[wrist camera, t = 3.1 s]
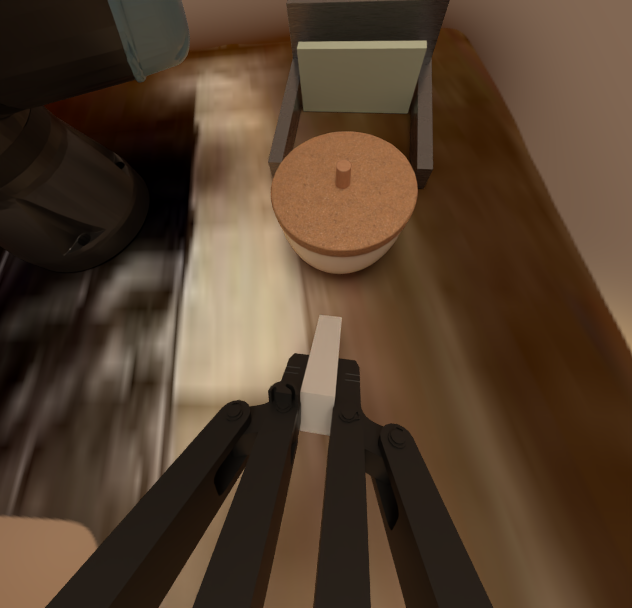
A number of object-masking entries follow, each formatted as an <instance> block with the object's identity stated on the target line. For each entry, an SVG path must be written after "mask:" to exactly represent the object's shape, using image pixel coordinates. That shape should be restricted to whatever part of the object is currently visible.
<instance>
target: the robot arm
mask: <svg viewBox="0 0 632 608" xmlns="http://www.w3.org/2000/svg"><path fill="white" fill-rule="evenodd" d="M189 44H190V36H189V28H188V23H187V20H186V15H185V11H184V8H183V4H182V0H0V246H1V247H2V248H4V249H5V250H7V251H8V252H10V253H11V254H13V255H14V256H16V257H18V258H20V259H22V260H24V261H26V262H29V263H32V264H34V265H37V266H40V267H43V268H45V269H48V270H51V271H56V272H77V271H82V270H86V269H89V268H92V267H95V266H97V265H99V264H101V263H103V262H105V261H107V260H109V259H110V258H112V257H114V256H115V255H116V254H118V253H119V252H120V251H121V250H123V249H124V248H125V247H126V246H127V245H128V244H129V243H130V242H131V241H132V240H133V238H134V237H135V236H136V235H137V233H138V232H139V230H140V229H141V227H142V225H143V223H144V221H145V219H146V216H147V213H148V209H149V191H148V188H147V185H146V183H145V181H144V180H143V178H142V177H141V176H140V175H139V174H138V173H137V172H136V171H135V170H134V169H133V168H132V167H131V166H130V165H129V164H128V163H127V162H126V161H125V160H124V159H123V158H121V157H120V156H118V155H117V154H115V153H114V152H112V151H111V150H109V149H107V148H106V147H104V146H102V145H101V144H99V143H98V142H96V141H94V140H93V139H91V138H89V137H88V136H86V135H85V134H83V133H81V132H80V131H78V130H76V129H75V128H73V127H72V126H70V125H68V124H67V123H65V122H63V121H62V120H60V119H59V118H57V117H56V116H54V115H53V114H52V113H51V112H50V111H48V110H47V109H46V108H45V107H44V106H43V105H46V104H49V103H53V102H56V101H60V100H64V99H67V98H71V97H74V96H78V95H82V94H85V93H89V92H93V91H96V90H100V89H103V88H107V87H111V86H114V85H118V84H121V83H125V82H129V81H132V80H137V81H138V82H144V80H145V78H146V76H148V75H150V74H153V73H156V72H159V71H162V70H165V69H167V68H170V67H173V66H176V65H178V64H180V63H181V62H183V60H184V59H185V58H186V56H187V54H188V51H189ZM341 320H342V317H335V316H326V315H320V316H319V320H318V324H317V328H316V332H315V336H314V340H313V344H312V348H311V352H310V355H304V354H297V353H295V354H294V355H293V356H291V357H290V358H289V361H288V363H287V367H286V369H285V372H284V374H283V377H282V380H281V381H280V382H277V383H275V384H274V385H272V386H271V387H270V389H269V390H268V393H269V402H268V403H266V404H262V405H257V406H250V407H249V405H248V404H247V403H246V402H245V401H240V400H237V401H232V402H230V403H227V404H226V405H225V406H224V407H222V408H221V410H220V411H219V412H218V413H217V414H216V415H215V416H214V418H213V419H212V420H211V421H210V422H209V423H208V424H207V425H206V427H205V428H204V429H203V430H202V431H201V432H200V433H199V434H198V436H197V437H196V438H195V439H194V440H193V441H192V442H191V443H190V445H189V446H188V447H187V448H186V449H185V450H184V451H183V453H182V454H181V455H180V456H179V457H178V458H177V459H176V460H175V462H174V463H173V464H172V465H171V466H170V467H169V468H168V469H167V471H166V472H165V473H164V474H163V475H162V476H161V477H160V478H159V480H158V481H157V482H156V483H155V484H154V485H153V486H152V488H151V489H150V490H149V491H148V492H147V493H146V494H145V495H144V497H143V498H142V499H141V500H140V501H139V502H138V503H137V504H136V506H135V507H134V508H133V509H132V510H131V511H130V512H129V513H128V515H127V516H126V517H125V518H124V519H123V520H122V521H121V523H120V524H119V525H118V526H117V527H116V528H115V529H114V530H113V532H112V533H111V534H110V535H109V536H108V537H107V538H106V539H105V541H104V542H103V543H102V544H101V545H100V546H99V547H98V548H97V550H96V551H95V552H94V553H93V554H92V555H91V556H90V558H89V559H88V560H87V561H86V562H85V563H84V564H83V565H82V567H81V568H80V569H79V570H78V571H77V572H76V574H75V575H74V576H73V577H72V578H71V579H70V580H69V581H68V582H67V584H66V585H65V586H64V587H63V588H62V589H61V590H60V591H59V593H58V594H57V595H56V596H55V597H54V598H53V599H52V601H51V602H50V603H49V604H48V605H47V606H46V607H45V608H158V607H159V606H160V604H161V603H162V601H163V599H164V598H165V596H166V594H167V593H168V591H169V590H170V588H171V586H172V585H173V583H174V581H175V580H176V578H177V577H178V575H179V573H180V572H181V570H182V568H183V567H184V565H185V564H186V562H187V560H188V559H189V557H190V555H191V554H192V552H193V551H194V549H195V547H196V546H197V544H198V543H199V541H200V539H201V538H202V536H203V534H204V533H205V531H206V530H207V528H208V526H209V525H210V523H211V521H212V520H213V518H214V517H215V515H216V513H217V512H218V510H219V508H220V507H221V505H222V504H223V502H224V500H225V499H226V497H227V496H228V494H229V492H230V491H231V489H232V487H233V486H234V484H235V483H236V481H237V479H238V478H239V476H240V474H241V473H242V471H243V470H244V472H243V475H242V477H241V480H240V483H239V485H238V488H237V491H236V493H235V496H234V499H233V501H232V504H231V507H230V509H229V512H228V515H227V517H226V520H225V522H224V525H223V528H222V530H221V533H220V536H219V538H218V541H217V544H216V546H215V549H214V552H213V554H212V557H211V560H210V562H209V565H208V568H207V570H206V573H205V576H204V578H203V581H202V584H201V586H200V589H199V592H198V594H197V597H196V600H195V602H194V605H193V607H192V608H263V606H264V602H265V597H266V592H267V587H268V583H269V578H270V573H271V568H272V564H273V559H274V554H275V549H276V544H277V540H278V535H279V530H280V525H281V521H282V516H283V511H284V506H285V501H286V497H287V492H288V487H289V482H290V478H291V473H292V468H293V463H294V459H295V454H296V449H297V444H298V433H299V429H300V431H304V432H310V433H316V434H322V435H328V436H330V438H329V447H328V456H327V468H326V478H325V489H324V499H323V510H322V520H321V531H320V541H319V552H318V562H317V573H316V583H315V594H314V604H313V608H371V602H370V577H369V552H368V527H367V503H366V478H365V472H366V473H367V474H369V475H371V479H372V482H373V486H374V490H375V493H376V497H377V501H378V505H379V508H380V512H381V516H382V519H383V523H384V527H385V531H386V534H387V538H388V542H389V546H390V549H391V553H392V557H393V560H394V564H395V568H396V572H397V575H398V579H399V583H400V586H401V590H402V594H403V598H404V601H405V605H406V608H493V606H492V604H491V602H490V600H489V598H488V596H487V594H486V591H485V589H484V587H483V585H482V583H481V581H480V579H479V577H478V575H477V572H476V570H475V568H474V566H473V564H472V562H471V560H470V558H469V555H468V553H467V551H466V549H465V547H464V545H463V543H462V541H461V539H460V536H459V534H458V532H457V530H456V528H455V526H454V524H453V522H452V519H451V517H450V515H449V513H448V511H447V509H446V507H445V505H444V503H443V500H442V498H441V496H440V494H439V492H438V490H437V488H436V486H435V483H434V481H433V479H432V477H431V475H430V473H429V471H428V469H427V467H426V464H425V462H424V460H423V458H422V456H421V454H420V452H419V450H418V447H417V445H416V443H415V441H414V439H413V437H412V436H411V434H410V433H409V431H407V430H406V429H405V428H404V427H402V426H400V425H398V424H387V425H385V426H384V427H383V426H381V425H379V424H376V423H374V422H373V421H371V420H369V419H368V418H367V417H366V416H365V414H364V413H363V411H362V409H361V400H360V372H359V366H358V364H357V362H356V361H355V360H347V359H339V358H338V356H339V344H340V332H341ZM245 466H246V467H245ZM244 468H245V469H244Z"/></svg>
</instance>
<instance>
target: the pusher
mask: <svg viewBox="0 0 632 608" xmlns="http://www.w3.org/2000/svg"><path fill="white" fill-rule="evenodd" d="M426 49H427V41H329V42H298V47H297V55H298V64H299V73H300V82H301V92H302V101H303V110H304V111H318V112H363V113H408V110H409V107H410V104H411V100H412V97H413V93H414V90H415V87H416V83H417V80H418V76H419V73H420V70H421V66H422V63H423V59H424V56H425V52H426Z"/></svg>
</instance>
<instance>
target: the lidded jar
mask: <svg viewBox="0 0 632 608" xmlns="http://www.w3.org/2000/svg"><path fill="white" fill-rule="evenodd" d="M417 195H418V187H417V180H416V176H415V173H414V171H413V169H412V166H411V164H410V163H409V161H408V160H407V158H406V157H405V156H404V155H403V154H402V153H401V152H400V151H399V150H398V149H397V148H395V147H394V146H393V145H392V144H390V143H388V142H386V141H385V140H383V139H380V138H378V137H375V136H373V135H369V134H365V133H359V132H333V133H328V134H324V135H320V136H317V137H314V138H311V139H310V140H308V141H306V142H304V143H302V144H301V145H299V146H298V147H296V148H295V149H293V150H292V151H291V152H290V153H289V154H288V155H287V156H286V157H285V158H284V160H283V161H282V162H281V164H280V165H279V167H278V169H277V171H276V173H275V175H274V178H273V181H272V186H271V201H272V206H273V210H274V213H275V215H276V218H277V220H278V222H279V224H280V226H281V227H282V230H283V232H284V234H285V237H286V239H287V240H288V242H289V243H290V245H291V247H292V248H293V250H294V251H295V252H296V253H297V254H298V255H299V256H300V257H301V259H303V260H304V261H305V262H306V263H308V264H309V265H311V266H313V267H314V268H316V269H319V270H321V271H324V272H328V273H334V274H345V273H352V272H356V271H359V270H362V269H364V268H367V267H368V266H370V265H372V264H374V263H375V262H376V261H377V260H379V259H380V258H381V257H382V256H383V255H384V254H385V253H386V252H387V251H388V250H389V249H390V248H391V246H392V245H393V244H394V242H395V241H396V239H397V237H398V236H399V234H400V232H401V231H402V229H403V228H404V227H405V225H406V224H407V222H408V220H409V219H410V217H411V215H412V213H413V210H414V207H415V205H416V201H417Z"/></svg>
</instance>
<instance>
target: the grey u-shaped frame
mask: <svg viewBox="0 0 632 608" xmlns="http://www.w3.org/2000/svg"><path fill="white" fill-rule="evenodd" d="M448 4H449V0H287V3H286V5H287V13H288V21H289V29H290V37H291V45H292V53H293V60H292V64H291V68H290V73H289V77H288V81H287V85H286V89H285V93H284V98H283V102H282V106H281V110H280V114H279V118H278V123H277V127H276V131H275V135H274V139H273V143H272V148H271V152H270V156H269V160H268V163H269V167H270V170H271V173H272V177H273V178H274V175H275V173H276V171H277V169H278V167H279V165H280V164H281V162H282V161H283V160H284V158H285V157H286V156H287V155H288V154H289V153H290V152H291V151H292V150H293V146H294V141H295V136H296V131H297V126H298V121H299V117H300V112H301V107H302V102H303V101H302V92H301V82H300V73H299V64H298V55H297V47H298V42H329V41H427V49H426V52H425V56H424V59H423V63H422V66H421V70H420V73H419V76H418V80H417V83H416V87H415V90H414V93H413V97H412V100H411V131H410V164H411V166H412V169H413V171H414V173H415V176H416V180H417V187H418V188H421V189H423V188H424V186H425V184H426V182H427V180H428V178H429V176H430V174H431V172H432V170H433V142H432V66H431V57H432V54H433V51H434V48H435V45H436V42H437V38H438V35H439V32H440V29H441V26H442V23H443V19H444V16H445V13H446V10H447V7H448Z"/></svg>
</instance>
